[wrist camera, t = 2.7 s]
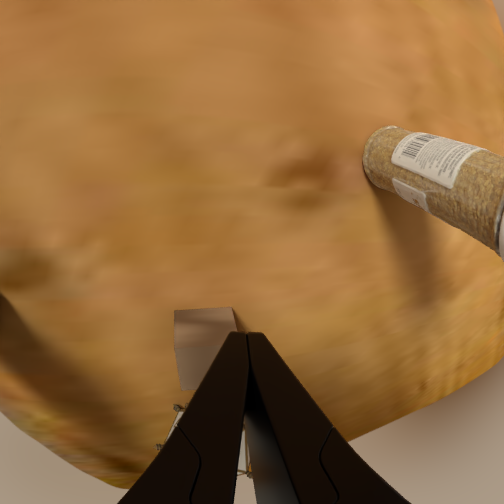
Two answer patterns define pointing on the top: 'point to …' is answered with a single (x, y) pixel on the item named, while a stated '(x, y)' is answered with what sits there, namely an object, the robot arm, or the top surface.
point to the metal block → (199, 341)
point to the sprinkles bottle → (441, 179)
